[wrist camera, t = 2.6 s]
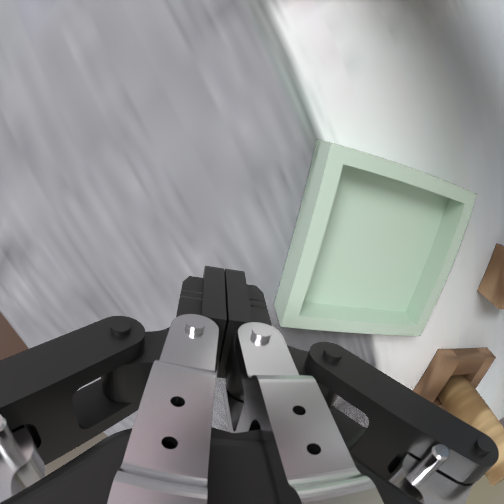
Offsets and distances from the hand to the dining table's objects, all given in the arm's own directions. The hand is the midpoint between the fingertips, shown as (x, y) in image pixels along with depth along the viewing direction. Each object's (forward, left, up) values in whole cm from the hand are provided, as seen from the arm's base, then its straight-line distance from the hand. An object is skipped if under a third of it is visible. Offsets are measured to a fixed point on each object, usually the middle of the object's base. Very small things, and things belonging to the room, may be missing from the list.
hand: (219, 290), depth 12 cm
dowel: (+14, +28, -9) cm, 32 cm away
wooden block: (0, +27, -9) cm, 28 cm away
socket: (+14, +28, -9) cm, 32 cm away
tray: (0, +11, -9) cm, 14 cm away
